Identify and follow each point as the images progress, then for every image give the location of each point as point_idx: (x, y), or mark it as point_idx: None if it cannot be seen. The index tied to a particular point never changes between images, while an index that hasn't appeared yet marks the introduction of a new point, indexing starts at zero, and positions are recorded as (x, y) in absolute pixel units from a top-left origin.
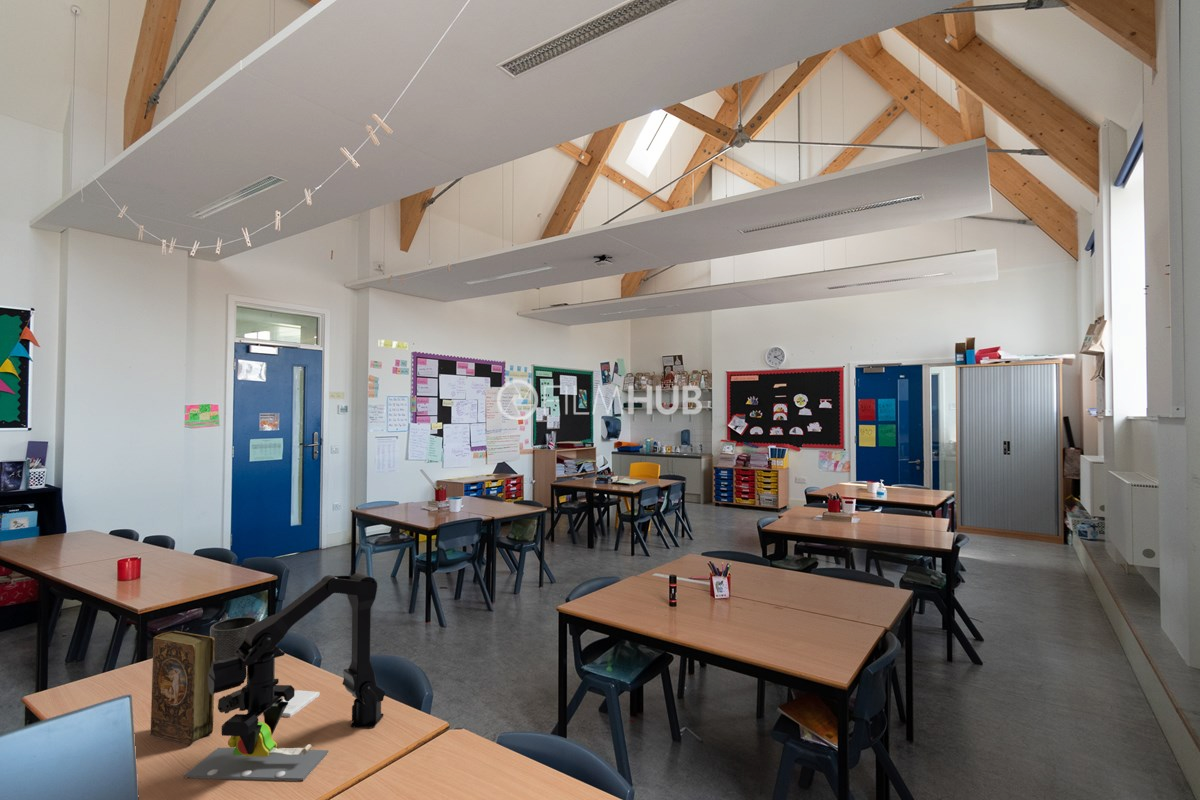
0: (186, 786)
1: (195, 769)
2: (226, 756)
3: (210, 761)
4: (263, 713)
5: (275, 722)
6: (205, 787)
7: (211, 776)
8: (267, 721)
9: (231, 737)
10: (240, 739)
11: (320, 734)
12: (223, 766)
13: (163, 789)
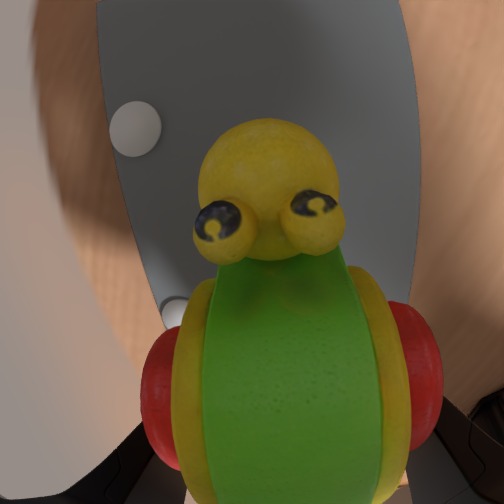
0: (55, 90)
1: (147, 2)
2: (315, 60)
3: (240, 6)
4: (482, 499)
5: (409, 480)
6: (70, 186)
7: (115, 149)
8: (434, 462)
9: (194, 230)
10: (145, 415)
11: (478, 361)
12: (205, 135)
13: (35, 25)
